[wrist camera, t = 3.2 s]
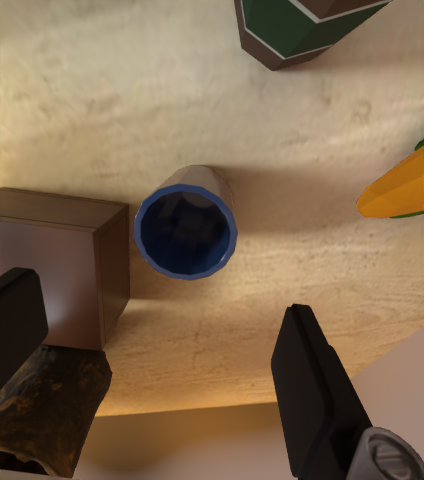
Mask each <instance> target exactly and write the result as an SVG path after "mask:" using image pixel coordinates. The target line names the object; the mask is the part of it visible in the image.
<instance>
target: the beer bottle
mask: <svg viewBox="0 0 424 480" xmlns="http://www.w3.org/2000/svg"><path fill="white" fill-rule="evenodd" d="M391 1H392V0H234V3H235V9H236V15H237V22H238V28H239V34H240V40H241V47H242V49H244V50H245V51H246V52H248V53H249V54H250V55H252V56H253V57H254V58H256V59H257V60H258V61H260V62H261V63H262V64H264V65H265V66H266V67H268V68H269V69H270V70H272V71H275V70H278V69H282V68H285V67H289V66H292V65H296V64H299V63H303V62H306V61H310V60H312V59H314V58H315V57H317V56H319V55H320V54H322V53H323V52H324V51H326V50H327V49H328V48H330V47H331V46H332V45H334V44H335V43H336V42H338V41H339V40H340V39H342V38H343V37H344V36H346V35H347V34H348V33H350V32H351V31H352V30H354V29H355V28H356V27H358V26H359V25H360V24H362V23H363V22H364V21H366V20H367V19H368V18H370V17H371V16H372V15H374V14H375V13H376V12H378V11H379V10H380V9H382V8H383V7H384V6H386V5H387V4H388V3H390V2H391Z"/></svg>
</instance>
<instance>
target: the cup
mask: <svg viewBox="0 0 424 480" xmlns="http://www.w3.org/2000/svg"><path fill="white" fill-rule="evenodd" d="M237 235H238V232H237V225H236V219H235V212H234V206H233V199H232V195H231V191H230V187H229V185H228V183H227V182H226V180H225V179H224V178H223V177H222V175H220V174H219V173H218V172H217V171H215V170H214V169H212V168H209V167H206V166H202V165H190V166H186V167H183V168H181V169H179V170H177V171H176V172H175V173H174V174H173V175H171V176H170V177H169V178H168V179H167V180H166V181H165V182H164V183H162V184H161V185H160V186H159V187H158V188H157V189H156V190H155V191H154V192H153V193H152V194H151V195H149V196H148V197H147V198H146V199H145V200H144V201H143V202H142V204H141V206H140V208H139V210H138V212H137V214H136V217H135V219H134V240H135V242H136V244H137V247H138V249H139V251H140V254H141V256H142V257H143V258H144V259H145V260H146V261H147V262H148V263H149V264H150V265H151V266H152V267H153V268H154V269H155V270H156V271H158V272H160V273H162V274H164V275H167V276H169V277H171V278H174V279H182V280H196V279H200V278H205V277H209V276H211V275H212V274H214V273H215V272H217V271H218V270H220V269H221V268H223V267H224V266H225V265H226V263H227V262H228V260H229V259H230V257H231V256H232V254H233V253H234V251H235V246H236V240H237Z"/></svg>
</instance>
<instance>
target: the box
mask: <svg viewBox="0 0 424 480" xmlns="http://www.w3.org/2000/svg"><path fill="white" fill-rule="evenodd" d="M0 217H8V218H16V219H24V220H31V221H39V222H47V223H55V224H63V225H71V226H79V227H87V228H95V229H98V242H99V258H100V273H101V288H102V303H103V318H104V333H105V343H106V342H107V340H108V338H109V336H110V335H111V333H112V331H113V329H114V327H115V325H116V323H117V322H118V320H119V318H120V316H121V314H122V312H123V310H124V309H125V307H126V305H127V303H128V301H129V299H130V269H129V204H127V203H119V202H111V201H104V200H96V199H88V198H80V197H72V196H64V195H56V194H49V193H41V192H33V191H25V190H17V189H9V188H2V187H1V188H0Z"/></svg>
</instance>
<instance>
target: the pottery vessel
mask: <svg viewBox="0 0 424 480" xmlns="http://www.w3.org/2000/svg"><path fill="white" fill-rule="evenodd" d="M112 374H113V373H112V371H111V370H110V366H109V363H108V361H107V359H106V354H105V352H104V351H103V350H102V351H99V350H90V349H81V348H73V347H64V346H56V345H47V344H40V345H39V347H38V348H37V349H36V350H35V351H34V352H33V353H32V355H31V356H30V357H29V358H28V359H27V360H26V361H25V363H24V364H23V365H22V366H21V367H20V368H19V370H18V371H17V372H16V373H15V374H14V375H13V376H12V378H11V379H10V380H9V381H8V382H7V383H6V385H5V386H4V387H3V388H2V389H1V390H0V469H1V470H9V471H16V472H24V473H32V474H40V475H47V476H55V477H63V478H71V479H72V477H73V474H74V471H75V468H76V466H77V463H78V460H79V457H80V454H81V450H82V447H83V445H84V442H85V439H86V437H87V434H88V431H89V429H90V426H91V424H92V421H93V418H94V416H95V414H96V411H97V409H98V407H99V405H100V403H101V402H102V400H103V399H104V397H105V395H106V393H107V391H108V389H109V387H110V383H111V377H112Z"/></svg>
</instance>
